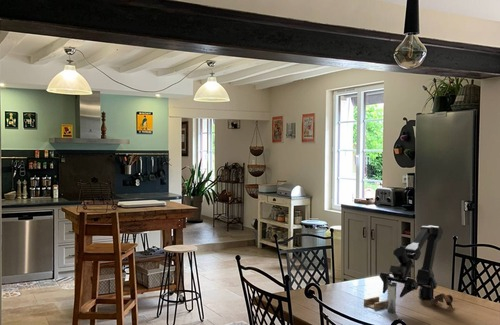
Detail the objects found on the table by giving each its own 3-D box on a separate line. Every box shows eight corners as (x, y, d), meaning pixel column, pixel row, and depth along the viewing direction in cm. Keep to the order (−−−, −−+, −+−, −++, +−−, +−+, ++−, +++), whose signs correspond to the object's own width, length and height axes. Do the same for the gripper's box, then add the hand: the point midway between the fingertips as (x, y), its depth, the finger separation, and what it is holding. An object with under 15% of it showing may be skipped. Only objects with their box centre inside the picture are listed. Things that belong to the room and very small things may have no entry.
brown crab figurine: (448, 313, 242) (439, 298, 244) (433, 317, 249) (425, 301, 251) (461, 303, 249) (452, 288, 250) (447, 307, 256) (438, 292, 258)
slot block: (377, 302, 257) (377, 296, 257) (389, 306, 250) (389, 300, 250) (363, 305, 251) (363, 299, 251) (375, 309, 244) (376, 303, 244)
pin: (394, 310, 244) (395, 282, 243) (397, 313, 239) (397, 284, 239) (385, 310, 244) (386, 281, 243) (388, 313, 239) (388, 284, 239)
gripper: (381, 256, 251) (368, 281, 244) (416, 262, 238) (403, 289, 230) (389, 269, 257) (377, 294, 250) (423, 276, 243) (411, 303, 236)
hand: (391, 295), depth 241 cm, fingers open, 9 cm apart
